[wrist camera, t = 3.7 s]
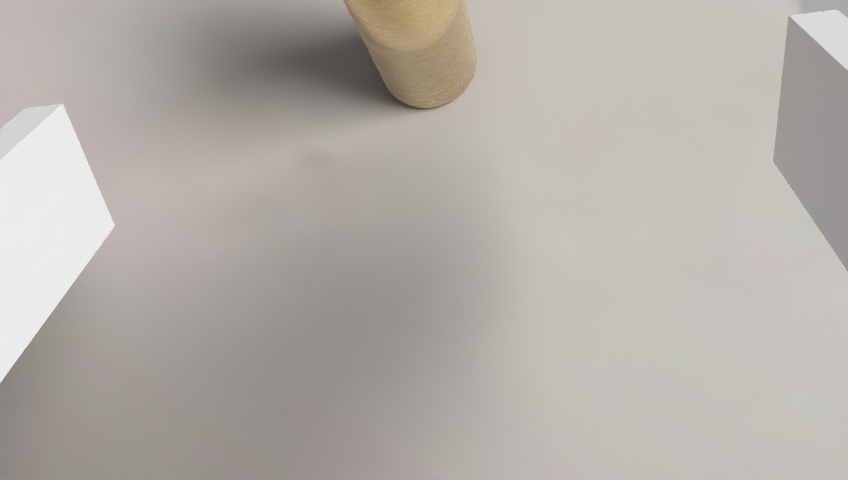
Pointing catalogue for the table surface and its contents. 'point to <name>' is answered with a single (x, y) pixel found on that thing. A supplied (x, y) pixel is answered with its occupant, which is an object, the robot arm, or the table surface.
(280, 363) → the table surface
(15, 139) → the robot arm
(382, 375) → the table surface
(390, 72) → the pin
